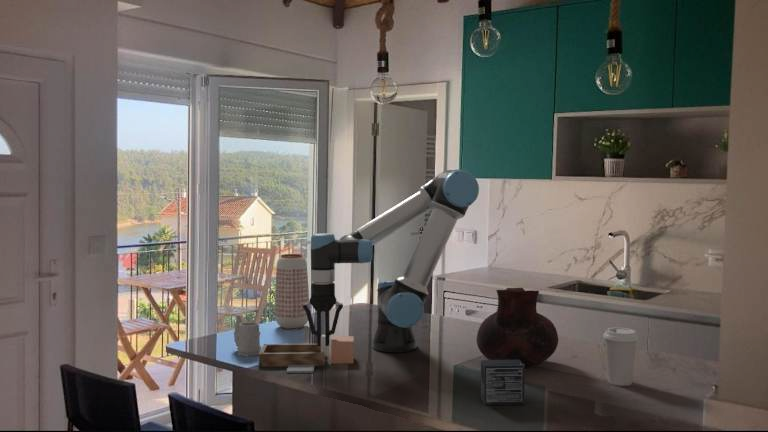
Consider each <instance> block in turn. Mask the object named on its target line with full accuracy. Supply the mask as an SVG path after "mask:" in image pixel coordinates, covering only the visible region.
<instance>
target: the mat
mask: <svg viewBox="0 0 768 432" xmlns="http://www.w3.org/2000/svg"><path fill="white" fill-rule="evenodd" d="M315 367H316V366H315V364H309V365H288V366H287V368H286V373H285V374H309V373H310V374H313V373H314V371H315Z"/></svg>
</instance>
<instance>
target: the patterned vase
mask: <svg viewBox="0 0 768 432" xmlns="http://www.w3.org/2000/svg"><path fill="white" fill-rule="evenodd" d="M275 269H276V271H275V284H274V285H275V288H274V290H275V291H274V318H275V321H276V323H277V325H278V326H279V327H280V328H281V329H282V330H300V329H303V328H304V327H305V325H306V324H307V322H309V321H308V318H307V314H306V311H305V310H304V308H303V305H304V304H306V303H308V302H309V301H310V296H309V295H310V293H309V291H310V289H309V278H308V277H309V276H308V275H309V273H308V265H307V259H306V258H305V256H303V254H300V253H285V254H281V255H280V257H278V259H277V263H276V268H275Z"/></svg>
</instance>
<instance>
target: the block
mask: <svg viewBox="0 0 768 432" xmlns="http://www.w3.org/2000/svg"><path fill="white" fill-rule="evenodd" d="M354 337H355V336H353V335H352V336H351V335H350V336H349V335H348V336H347V335H343V336H341V335H337V336H336V335H333V336H332V335H331V340H330V363H331V364H333V365H335V364H338V365H339V364H354V356H355V355H354V352H355V351H354V348H355V347H354V341H355V339H354Z"/></svg>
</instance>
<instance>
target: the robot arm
mask: <svg viewBox="0 0 768 432" xmlns="http://www.w3.org/2000/svg"><path fill="white" fill-rule="evenodd" d="M478 182H479V181H478V180H477V179H476V177H475V176H474V174H472V173H471V172H469V171H466V170H463V169H448V170H445V171H442V172H440V173H439V174H437V175H436V176H435V177H433V178H432V179H430V180H429V181H428V182H426V183H424V184H423V185H421V186H420V187H419V190H418V191H417V192H416V193H414V194H413V195H411V196H409V197H408V198H406V199H405V200H402V202H399V203H398V204H397V205H394V206H392V207H391V208H390V209H388V210H386V211H385V212H383V213H382V214H380V215H378V216H377V217H375V218H374V219H372V220H370V221H368V222H366V223H365V224H364V225H362V226H360V227H358V228H356V230H354V231H352V232H351V233H349V234H345V235H343V236H341V237H340V238H339V239H336V238H335V235H334V234H333V233H327V232H325V233H322V232H321V233H313V234H312V235H311V237H310V281H311V282H312V283H311V284H310V297H309V302H308V303H306V304H304V305H303V308H304V310H305V311H306V314H307V318H308V321H307V322H308V326H309V328H310V329H309V330H310V333H311V335H315V336H316V340H317V341H316V344H317V345H318V346H321V352H325V358H326V357H327V347H329V346H330V336H332V335H334V334H335V333H336V329H337V324H338V320H339V316H340V312H341V311H342V309H343V308H344V304H343V303H342V302H340V301H337V297H336V284H335V283H334V282H335V281H336V278H335V277H336V274H335V273H336V272H335V270H336V268H335V265H336V264H367V263H368V264H369V263H371V262H372V260H373V250H374V249H373V246H375V245H377V244H378V243H379V242H381V241H383V240H384V239H386V238H387V237H389V236H392V234H394V233H396V232H397V231H399V230H401V229H402V228H404V227H406V226H407V225H409V224H411V223H412V222H414V221H416V220H417V219H419V218H420V217H423V215H425V214H427V213H429V212H430V211H431V213H430V215H429V216H428V219H427V221H426V224H425V226H424V228H423V230H422V233H421V235H420V237H419V238H418V241H417V243H416V245H415V248H414V250H413V252H412V254H411V256H410V258H409V260H408V263H407V265H406V267H405V270H404V272H403V273H402V275H401V276H399V277H396V278H395V280H382V281H379V282H378V284H377V290H376V292H377V327H376V330H375V332H374V335H373V338H372V348H373V350H377V351H378V352H379V351H380V352H386V353H404V352H411V351H413V350H415V349H417V339H416V335H415V332H414V329H413V327H414V326H416V325H417V324H418V323H419V322H420V321H421V319H422V318H423V315H424V312H425V306H424V305H425V302H426V301H427V298H428V296H429V291H428V287H427V286H428V285H429V282H430V280H431V278H432V275H433V273H434V271H435V270H436V268H437V267H436V266H437V265H438V263H439V261H440V259H441V257H442V255H443V251H444V250H445V248H446V247H447V246H446V245H447V243H448V241H449V239H450V237H451V235H452V232H453V230H454V227H455V225H456V224H457V221H458V220H459V219H462V218H464V217H465V216H466V213H467V211H468V209H469V207H470V206H471V205H472V204H474V203H475V201H476V200H477V199H478V196H479V192H480V187H479V183H478ZM334 306H335V309H336V310H335V313H334V318H333V320H332V321H333V322H332V325H331V329H330V311H331V310H332V309H333V307H334ZM311 308H313V309H314V310H315V311H316V327H315V323H314V320H313V315H312V312H311ZM322 312H324V334H322Z"/></svg>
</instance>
